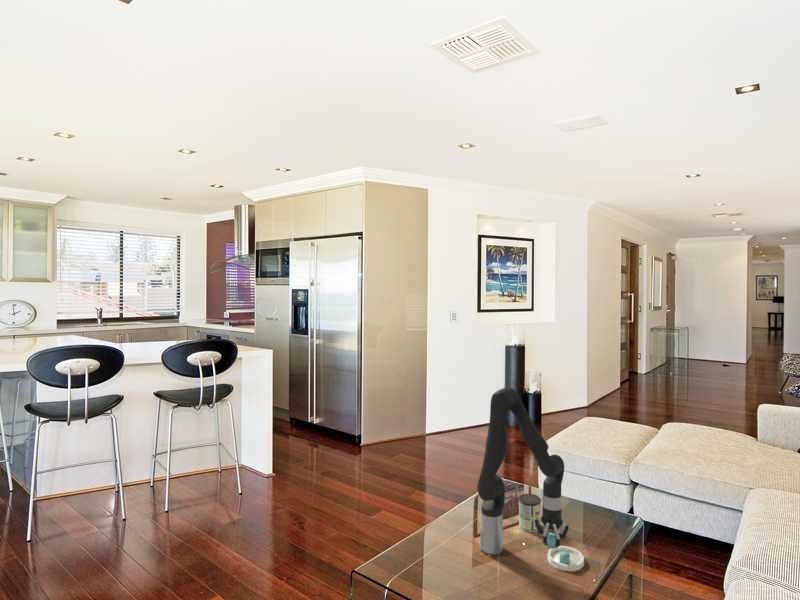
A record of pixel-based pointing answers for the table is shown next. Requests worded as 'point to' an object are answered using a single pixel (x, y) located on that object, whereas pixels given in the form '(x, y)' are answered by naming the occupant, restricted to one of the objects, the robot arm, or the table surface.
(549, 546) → the bead
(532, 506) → the coffee can
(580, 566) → the ring tray
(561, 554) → the bead
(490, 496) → the robot arm
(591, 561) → the table surface
